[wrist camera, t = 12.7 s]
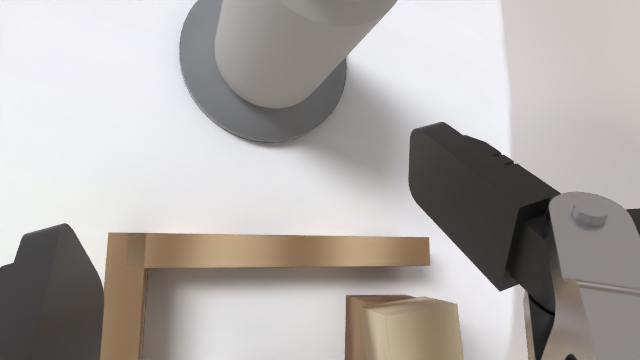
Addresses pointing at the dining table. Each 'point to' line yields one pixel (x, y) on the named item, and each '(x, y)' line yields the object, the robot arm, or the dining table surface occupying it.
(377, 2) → the beverage can
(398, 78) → the dining table surface
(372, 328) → the birch offcut
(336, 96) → the slate coaster
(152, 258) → the frame
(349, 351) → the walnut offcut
